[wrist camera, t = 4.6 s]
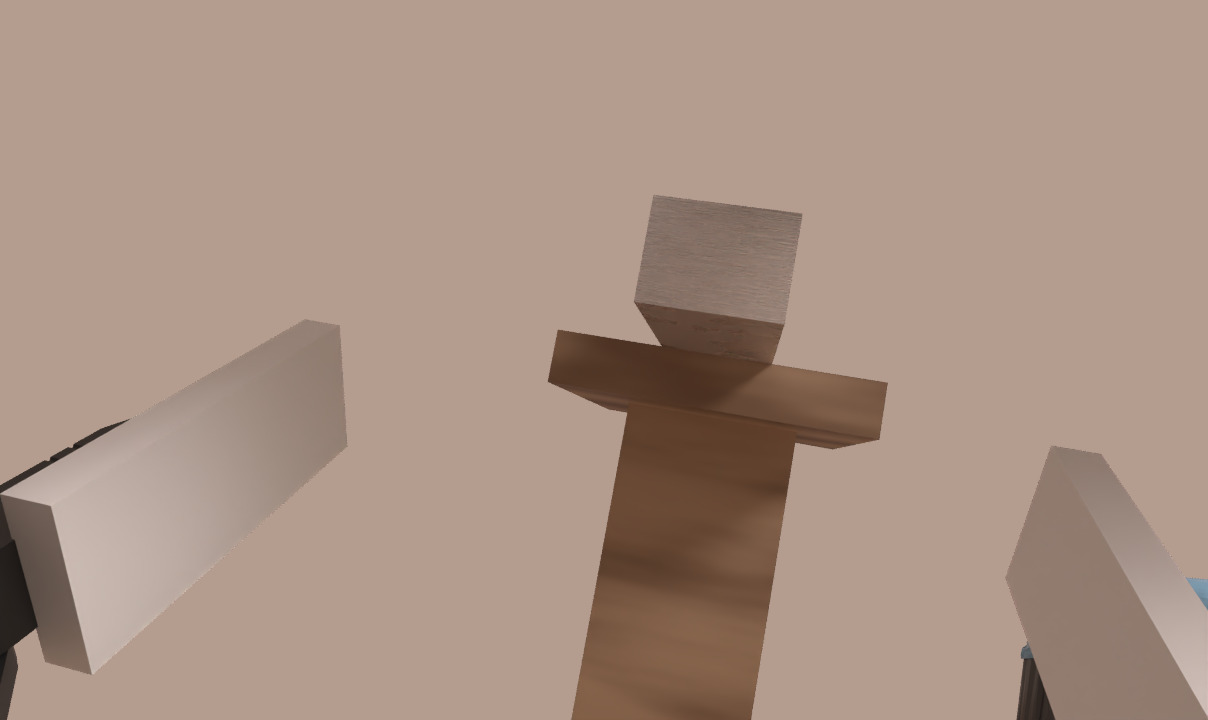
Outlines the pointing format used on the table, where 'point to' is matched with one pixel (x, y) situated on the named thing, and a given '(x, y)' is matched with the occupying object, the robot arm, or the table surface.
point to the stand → (695, 517)
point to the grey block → (717, 276)
